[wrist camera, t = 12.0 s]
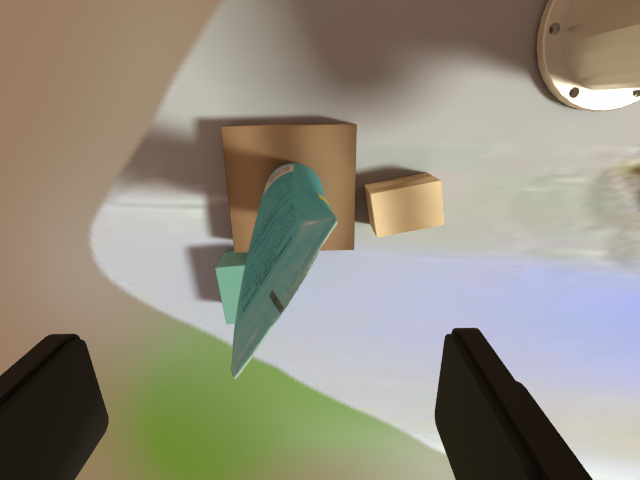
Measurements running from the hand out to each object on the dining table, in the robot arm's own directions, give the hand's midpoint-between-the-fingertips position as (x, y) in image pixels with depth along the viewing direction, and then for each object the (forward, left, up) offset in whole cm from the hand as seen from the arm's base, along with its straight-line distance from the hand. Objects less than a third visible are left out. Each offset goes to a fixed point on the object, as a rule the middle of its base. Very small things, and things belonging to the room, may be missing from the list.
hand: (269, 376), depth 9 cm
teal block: (+6, +10, -26) cm, 28 cm away
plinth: (+1, 0, -26) cm, 26 cm away
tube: (0, 0, -23) cm, 23 cm away
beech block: (-10, +2, -26) cm, 28 cm away
